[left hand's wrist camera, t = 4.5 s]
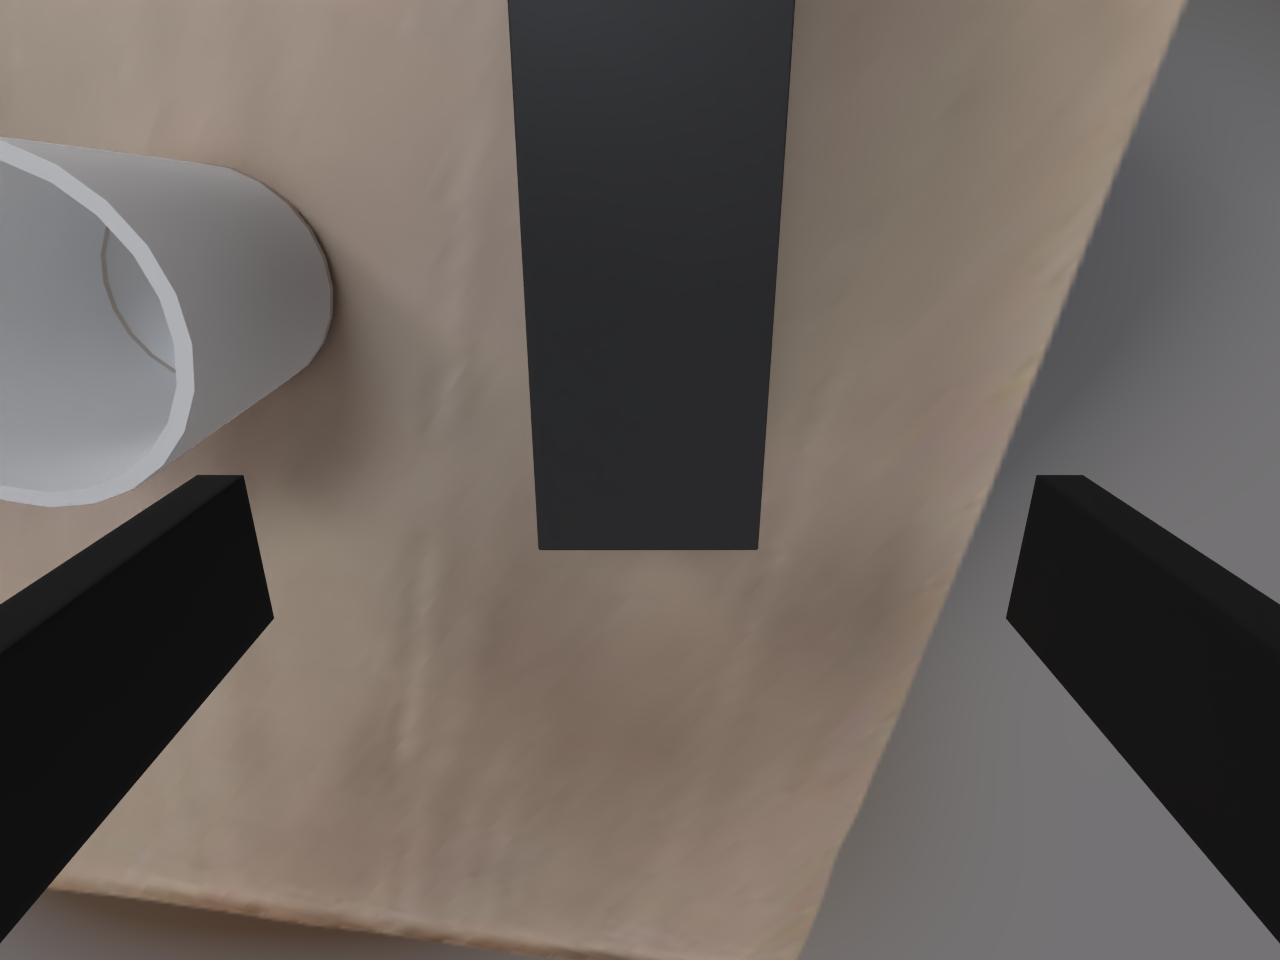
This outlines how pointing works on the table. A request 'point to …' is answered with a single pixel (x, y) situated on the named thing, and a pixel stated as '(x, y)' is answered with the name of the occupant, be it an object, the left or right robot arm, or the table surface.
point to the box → (649, 262)
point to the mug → (140, 313)
